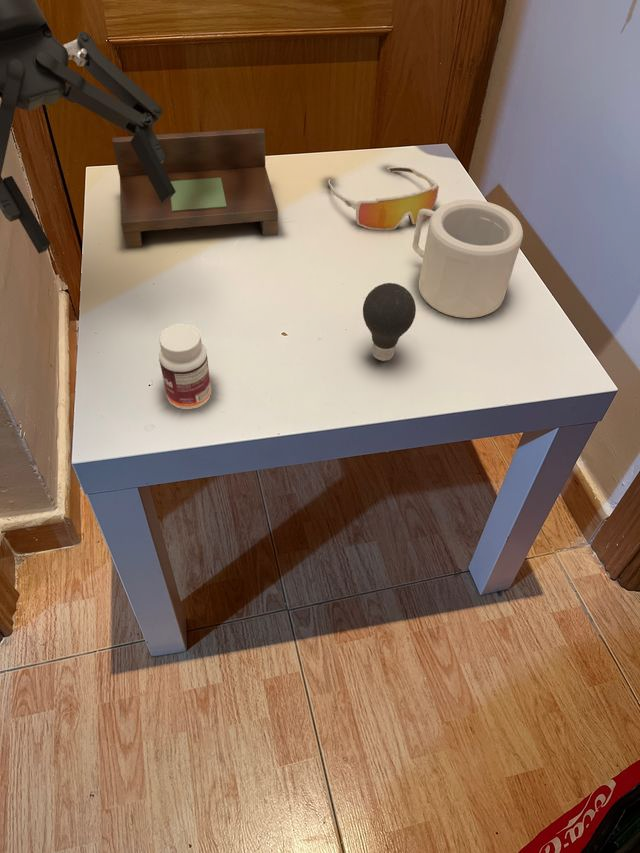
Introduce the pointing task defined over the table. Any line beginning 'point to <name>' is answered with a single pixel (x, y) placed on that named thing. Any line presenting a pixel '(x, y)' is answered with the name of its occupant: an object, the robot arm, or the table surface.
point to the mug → (467, 256)
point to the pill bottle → (184, 366)
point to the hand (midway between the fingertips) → (109, 222)
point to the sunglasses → (393, 205)
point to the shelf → (198, 183)
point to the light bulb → (388, 317)
